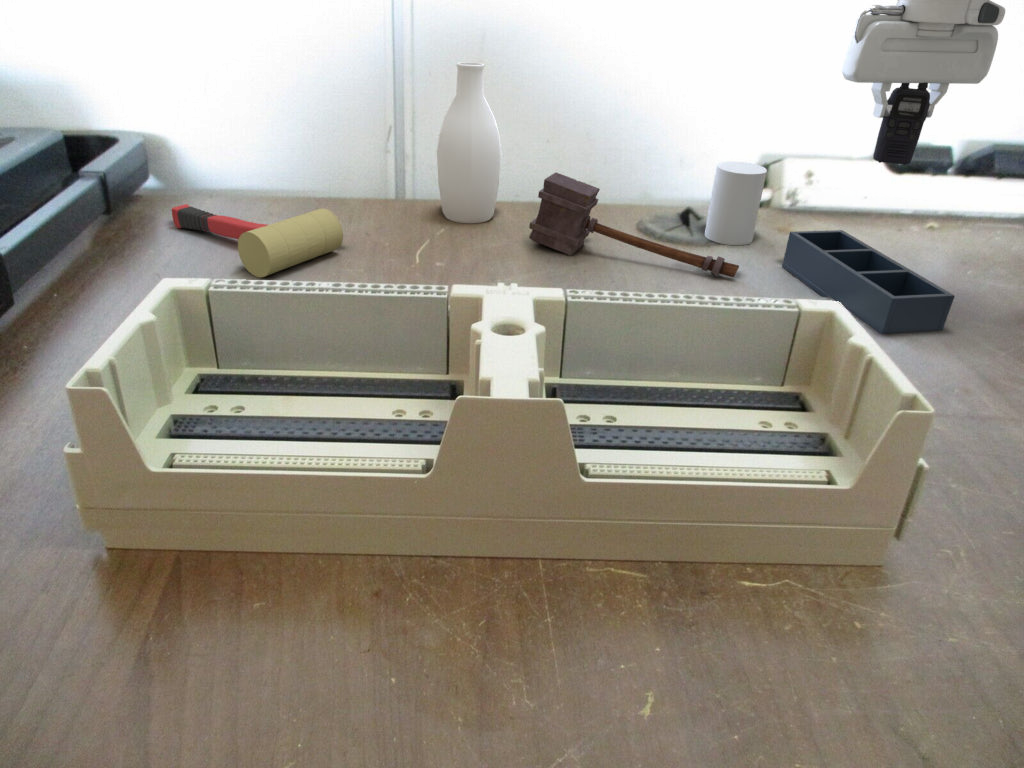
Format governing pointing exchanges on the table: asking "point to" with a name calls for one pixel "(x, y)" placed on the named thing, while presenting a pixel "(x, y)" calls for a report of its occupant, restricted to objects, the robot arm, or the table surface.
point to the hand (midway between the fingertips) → (901, 117)
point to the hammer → (596, 225)
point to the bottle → (469, 151)
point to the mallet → (269, 237)
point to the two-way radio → (902, 124)
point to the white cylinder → (735, 202)
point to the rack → (866, 282)
